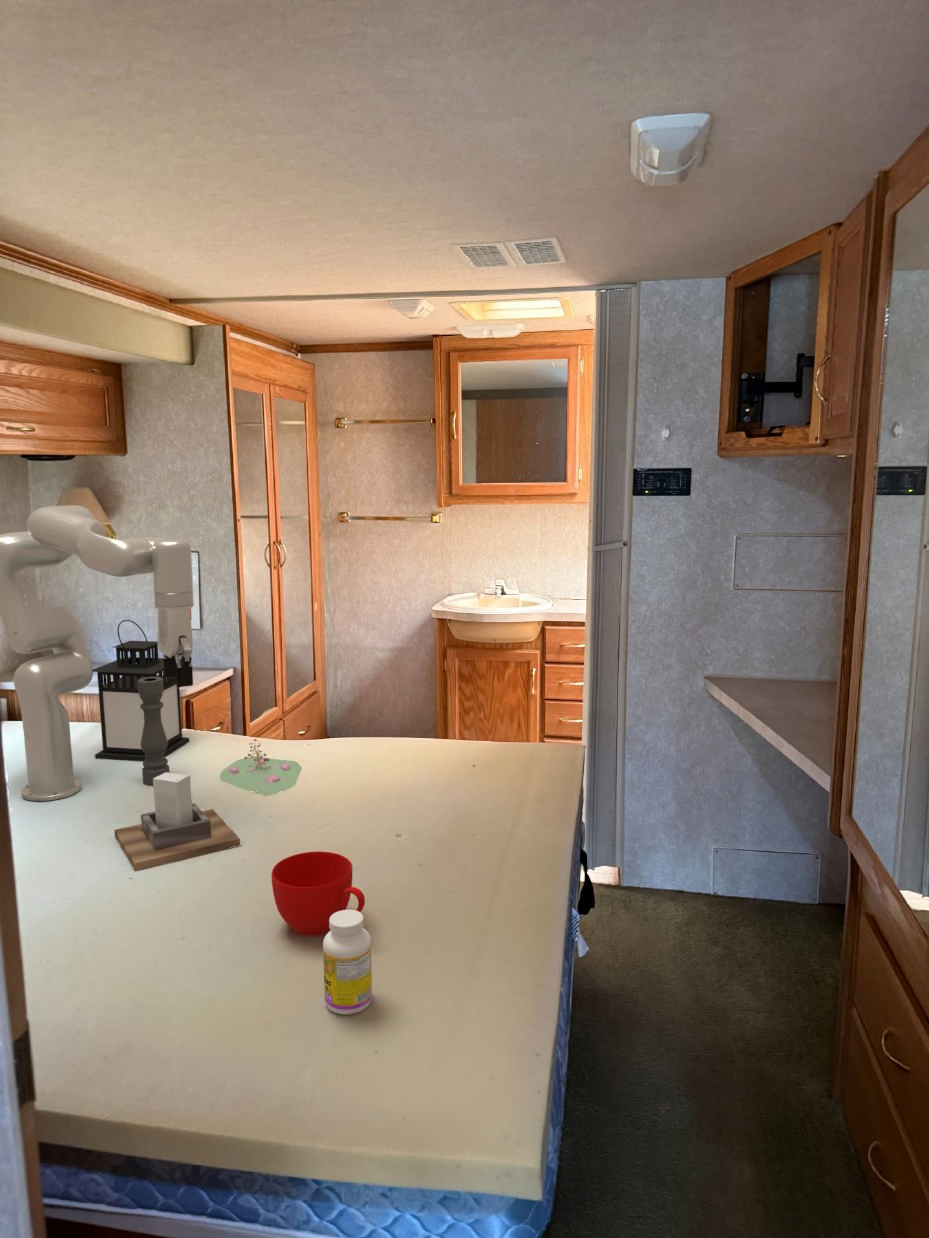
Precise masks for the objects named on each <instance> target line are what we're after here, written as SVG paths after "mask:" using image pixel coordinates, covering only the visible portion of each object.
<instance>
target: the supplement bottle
mask: <svg viewBox="0 0 929 1238" xmlns="http://www.w3.org/2000/svg"><path fill="white" fill-rule="evenodd" d="M364 920H365V919H364V915H363V913H361V912H359V911H356V909H346V910H342V911H338V912H336V913H334V914H333V915H331V917H330V919H329V928H330V931H329V932H327V934H326V935H325V936H324V938H323V942H322V953H323V954H322V956H323V986H324V987H323V990H324V1003H325V1006H326V1007H327V1009H328V1010H329V1011H331V1012H333V1013H335V1014H337V1015H344V1016H345V1015H346V1016H347V1015H353V1014H357V1013H360V1012H362V1011H364V1010H366V1008H368V1007H369V1005H371V1002H372V999H373V974H372V973H373V971H372V968H373V967H372V966H373V965H372V938H371V934H370V933H369V932H368V930H366V929H365V928H364V923H365V922H364Z"/></svg>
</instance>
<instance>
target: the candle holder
mask: <svg viewBox="0 0 929 1238" xmlns="http://www.w3.org/2000/svg"><path fill="white" fill-rule="evenodd" d="M137 681H138V694H139V695H140V698H141V699H142V701H143V703H142V704H141V705H140V708H141V709H142V710H143V711H144V727H143V733H142V738H141V749H142V751H143V752H144V753H145V756H146V758H145V761H143V762H142V765H143V767H142V769H141V772H142V784H143V785H144V786H148V787H151V786H152V787H154V786H153V778H155V777H157V776H159V775H161V774H163V773H165V772H168V773H171V772H170V771H171V770H170V765H169V764H168V762H169V760H168V758H166V757H165V756H163V755H164V754H165V752H164V751H165V750H166V748H167V745H168V741H167V738H166V735H165V731H164V728H163V725H162V722H161V708H162V707H163V703H162V702H161V701H160V700H161V697H162V696H163V694H162V693H163V692H164V689H163V678H161V677H146V678H141V679H139V680H137Z"/></svg>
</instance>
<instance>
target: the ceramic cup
mask: <svg viewBox="0 0 929 1238" xmlns="http://www.w3.org/2000/svg"><path fill="white" fill-rule="evenodd" d="M270 878H271V886H272V892H273V897H274V902H275V906H276V908H277V911H278V913H279V915H280V916H281V918H282V919H283V920H284V922H285V924H287V925H288V926H289V927H290V928H291V929H292V930H294V932H295V933H296V934H298V935H301V936H305V937H317V936H321V935H325V934H326V933H327V934H328V933H329V932H330V931H331V930H330V928H329V919H330V917H331V915H333V914H334V913H336V912H338V911H342V910H347V907H348V905H349V904H350V900H351V895H354V896H355V897H356V899H357V903H358V905H357V908H356V909H355V910H356V911H359V912H360V913H361V912H362V911H363V910H364V908H365V905H366V899H365V895H364V893H363V891H362V890H360V889H359V888H358V887H355V886H353V864H352V862H351V860H349V858H347V857H345V856H343V854H340V853H336V852H330V851H307V852H300V853H297V854H293V855H290V856H288V857H285V858H283V859H281V860H280V861H278V862H277V863H276V864H275V865H274V866H273V868H272V871H271V877H270Z"/></svg>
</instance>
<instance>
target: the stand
mask: <svg viewBox="0 0 929 1238" xmlns="http://www.w3.org/2000/svg"><path fill="white" fill-rule="evenodd" d="M192 814H193V822H192V823H187V824H183V825H178V826H173V827H169V828H164V829H160V830H159V829H158V828H157V826H156V815H155V811H151V812H146V813H142V814H140V820H141V823H140V824H134V825H130V826H125V827H121V828H115V829H114V838H115V839H116V841H117V843H118V845H119V844H120V845H119V847H120V848H121V849H122V851H123V853H124V855H125V857H126V858H127V860H128V862H129V864H130V865H131V866H132V868H133V870H134V871H141V870H145V869H149V868H154V867H158V866H162V865H165V864H169V863H173V862H178V861H183V860H185V859H190V858H195V857H199V856H203V855H207V854H212V853H215V852H220V851H224V850H228V849H227V848H229V849H231V848H230V847H233V846H237V847H240V846H241V838H240V837H239V836H238V835H237V833H235V832H234V831H233V830H232V828H231V827H230V826H229V825H228V824H227V823H226V822H225V820H223V818H221V816H219V814H218V813H216V811H215V810H214V809H213V808H211V809H207V810H202V809H200V807H199V806H198V805H197V804H196V803H195V802H194V803H192ZM239 845H240V846H239ZM233 848H234V847H233ZM223 849H224V850H223Z"/></svg>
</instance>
